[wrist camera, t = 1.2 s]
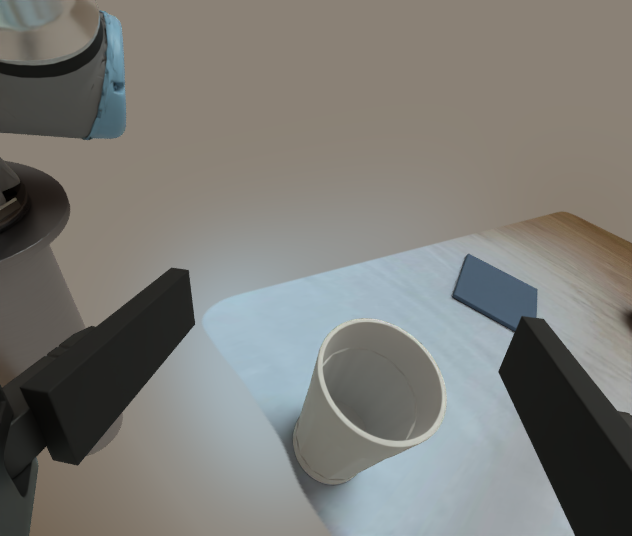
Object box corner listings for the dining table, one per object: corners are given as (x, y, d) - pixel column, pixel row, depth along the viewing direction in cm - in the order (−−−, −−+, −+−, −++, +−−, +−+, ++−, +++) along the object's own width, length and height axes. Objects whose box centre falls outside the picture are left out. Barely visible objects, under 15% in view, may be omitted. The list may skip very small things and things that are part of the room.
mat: (452, 296, 44) (454, 294, 44) (466, 256, 52) (468, 253, 51) (532, 341, 42) (535, 339, 41) (534, 291, 49) (537, 289, 49)
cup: (366, 515, 25) (448, 472, 16) (268, 473, 25) (299, 411, 17) (380, 413, 30) (446, 344, 22) (300, 381, 31) (335, 301, 23)
